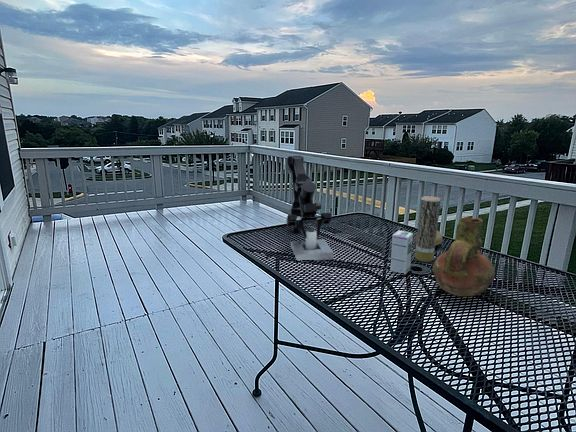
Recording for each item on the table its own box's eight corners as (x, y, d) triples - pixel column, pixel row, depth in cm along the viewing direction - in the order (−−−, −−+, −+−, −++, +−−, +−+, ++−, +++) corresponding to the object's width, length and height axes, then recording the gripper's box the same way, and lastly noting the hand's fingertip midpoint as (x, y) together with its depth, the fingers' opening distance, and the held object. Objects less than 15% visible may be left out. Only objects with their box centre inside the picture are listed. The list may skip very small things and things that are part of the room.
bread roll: (408, 247, 141) (410, 230, 139) (425, 239, 150) (426, 223, 148) (430, 254, 134) (432, 236, 132) (446, 244, 143) (448, 227, 141)
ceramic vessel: (496, 282, 110) (510, 212, 103) (482, 318, 90) (497, 233, 83) (443, 269, 120) (451, 204, 113) (420, 298, 101) (429, 221, 94)
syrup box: (405, 275, 116) (409, 237, 112) (389, 270, 119) (392, 233, 115) (410, 269, 120) (414, 232, 116) (394, 265, 124) (398, 229, 120)
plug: (306, 251, 139) (306, 226, 136) (317, 252, 138) (317, 227, 135) (304, 255, 135) (304, 230, 132) (315, 256, 134) (315, 231, 130)
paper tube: (429, 255, 132) (437, 196, 125) (435, 262, 125) (443, 200, 118) (412, 255, 133) (418, 196, 125) (417, 262, 126) (424, 200, 119)
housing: (290, 247, 142) (290, 241, 141) (323, 245, 144) (324, 239, 143) (296, 261, 128) (296, 254, 127) (333, 259, 130) (333, 252, 129)
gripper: (287, 195, 132) (291, 230, 124) (331, 193, 134) (338, 227, 127) (284, 209, 141) (288, 242, 134) (326, 207, 144) (332, 239, 137)
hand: (311, 237), depth 133 cm, fingers open, 5 cm apart
